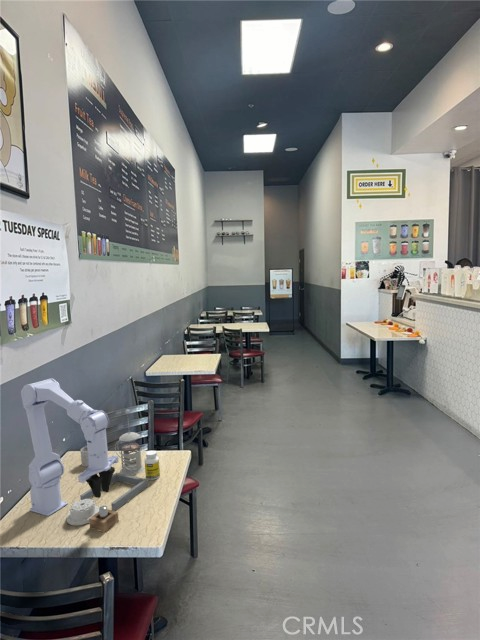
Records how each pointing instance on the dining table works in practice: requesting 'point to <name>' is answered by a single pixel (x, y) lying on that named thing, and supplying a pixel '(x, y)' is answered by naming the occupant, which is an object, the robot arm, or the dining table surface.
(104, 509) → the pin
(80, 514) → the mechanical component
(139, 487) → the grey u-shaped bracket
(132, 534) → the dining table surface
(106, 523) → the hollow wooden square
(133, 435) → the french press
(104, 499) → the dining table surface
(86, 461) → the mug
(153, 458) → the supplement bottle
